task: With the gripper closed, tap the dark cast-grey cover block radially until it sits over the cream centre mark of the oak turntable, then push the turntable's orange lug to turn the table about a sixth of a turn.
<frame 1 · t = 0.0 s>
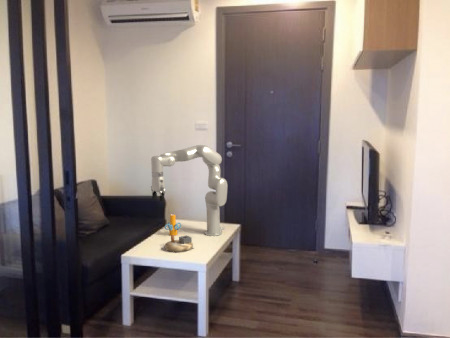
hand: (158, 200, 285), 31 cm above the table, fingers open, 9 cm apart
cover: (185, 242, 286), point 3 cm above the table, touching turntable
cylinder: (173, 235, 315), on the table
turntable: (178, 242, 282), point 4 cm above the table, hinge at 0.0°, touching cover
susan base: (179, 248, 283), on the table
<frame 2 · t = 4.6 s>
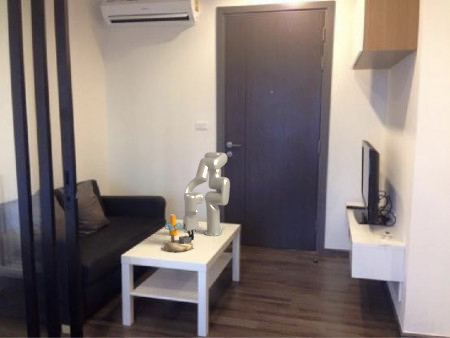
hand: (191, 239, 288), 4 cm above the table, fingers closed
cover: (185, 242, 286), point 3 cm above the table, touching gripper, turntable
everything else where it was.
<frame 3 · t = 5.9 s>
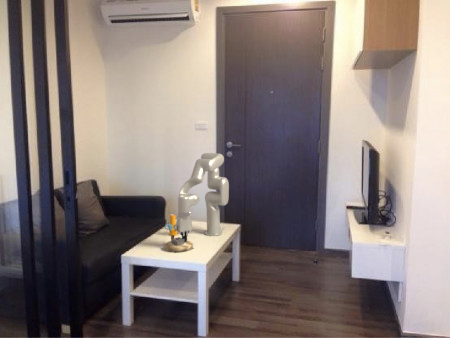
hand: (184, 241, 285), 4 cm above the table, fingers closed
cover: (178, 244, 282), point 3 cm above the table, touching turntable
everything else where it was.
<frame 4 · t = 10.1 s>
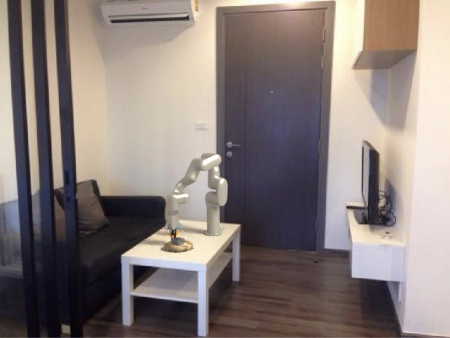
hand: (173, 238, 292), 4 cm above the table, fingers closed
turntable: (178, 242, 282), point 4 cm above the table, hinge at 1.4°, touching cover, gripper
everything else where it was.
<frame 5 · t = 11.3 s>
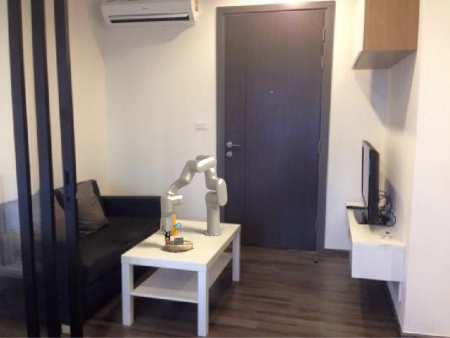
hand: (167, 241, 286), 4 cm above the table, fingers closed
turntable: (178, 242, 282), point 4 cm above the table, hinge at 48.4°, touching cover, gripper
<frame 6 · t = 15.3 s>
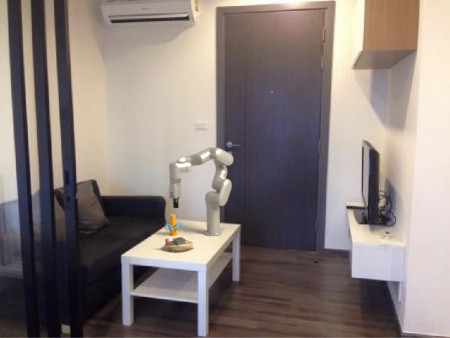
hand: (175, 207, 289), 25 cm above the table, fingers closed
turntable: (178, 242, 282), point 4 cm above the table, hinge at 69.0°, touching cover
at the end: turntable at +69° (first picture: +0°); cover 0.4 cm from the turntable (horizontally); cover tilted 0° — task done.
